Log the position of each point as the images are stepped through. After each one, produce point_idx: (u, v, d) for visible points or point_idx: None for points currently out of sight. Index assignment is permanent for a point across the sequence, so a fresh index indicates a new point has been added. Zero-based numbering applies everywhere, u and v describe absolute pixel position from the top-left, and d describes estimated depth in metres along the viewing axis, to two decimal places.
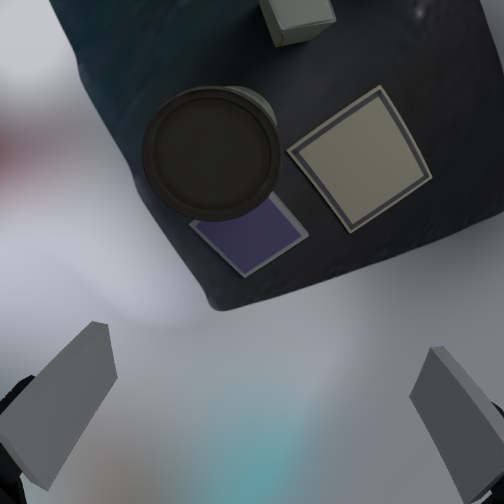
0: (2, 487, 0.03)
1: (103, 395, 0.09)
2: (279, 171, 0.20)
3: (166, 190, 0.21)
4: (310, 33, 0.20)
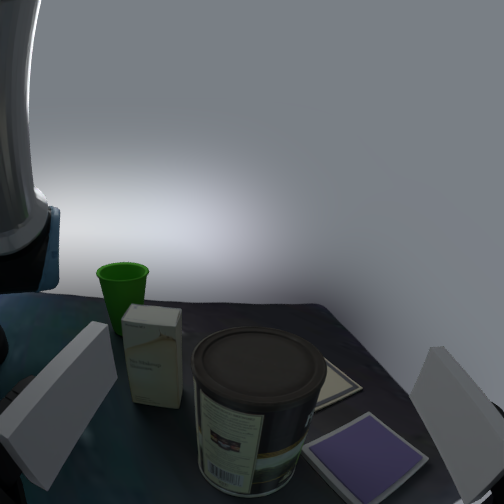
0: (2, 487, 0.03)
1: (103, 395, 0.09)
2: None
3: (287, 394, 0.17)
4: (180, 351, 0.32)
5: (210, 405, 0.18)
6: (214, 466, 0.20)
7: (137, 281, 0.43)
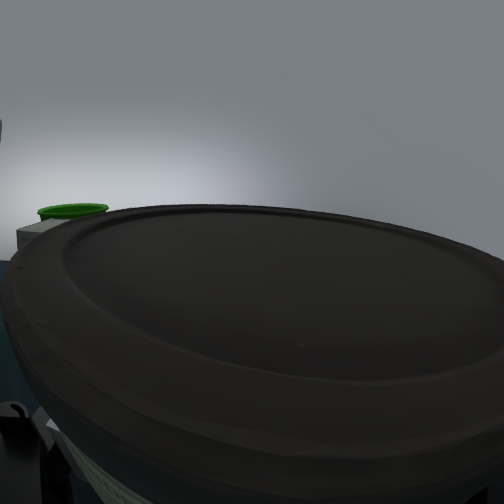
0: (49, 488, 0.04)
1: None
2: None
3: None
4: None
5: (58, 427, 0.02)
6: None
7: None
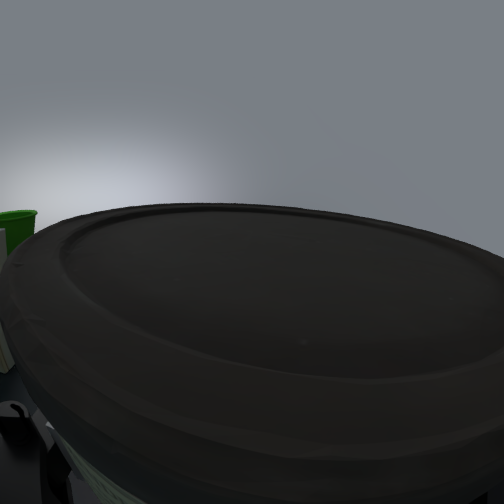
0: None
1: None
2: (340, 214, 0.10)
3: None
4: None
5: None
6: None
7: (16, 222, 0.28)
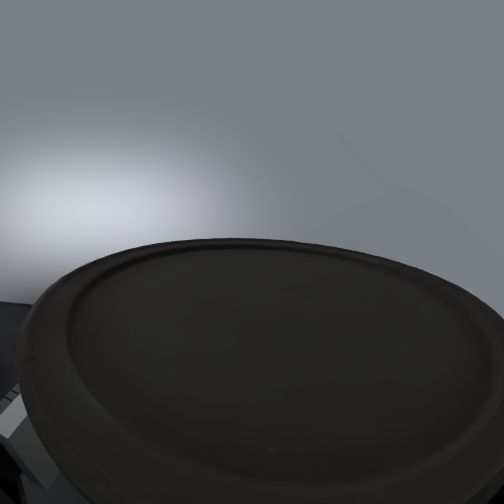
0: (2, 487, 0.03)
1: None
2: (333, 247, 0.10)
3: (476, 425, 0.02)
4: None
5: None
6: None
7: None
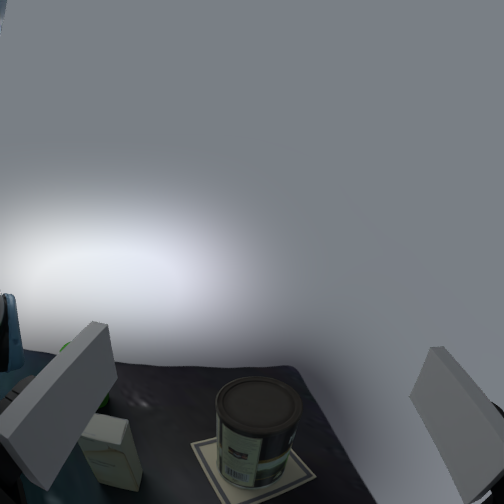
0: (2, 487, 0.03)
1: (103, 395, 0.09)
2: (274, 379, 0.36)
3: (276, 426, 0.27)
4: (133, 450, 0.28)
5: (229, 432, 0.28)
6: (230, 468, 0.30)
7: None
